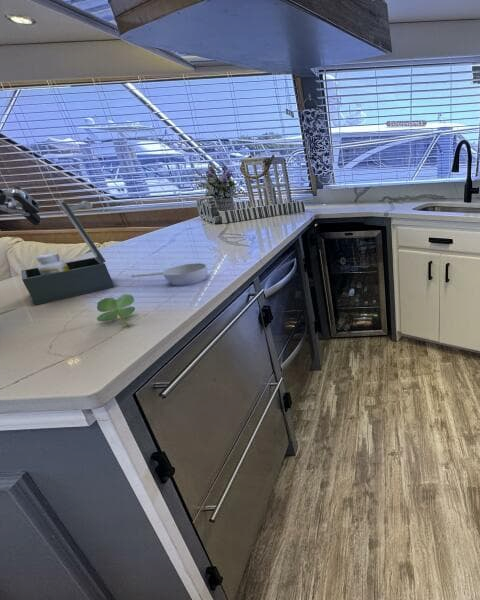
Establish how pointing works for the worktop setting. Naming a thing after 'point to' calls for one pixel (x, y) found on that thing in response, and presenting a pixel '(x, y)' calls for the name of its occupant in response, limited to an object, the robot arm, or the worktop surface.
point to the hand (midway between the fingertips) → (12, 224)
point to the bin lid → (79, 227)
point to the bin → (67, 281)
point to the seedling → (115, 308)
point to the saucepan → (182, 274)
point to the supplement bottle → (51, 264)
